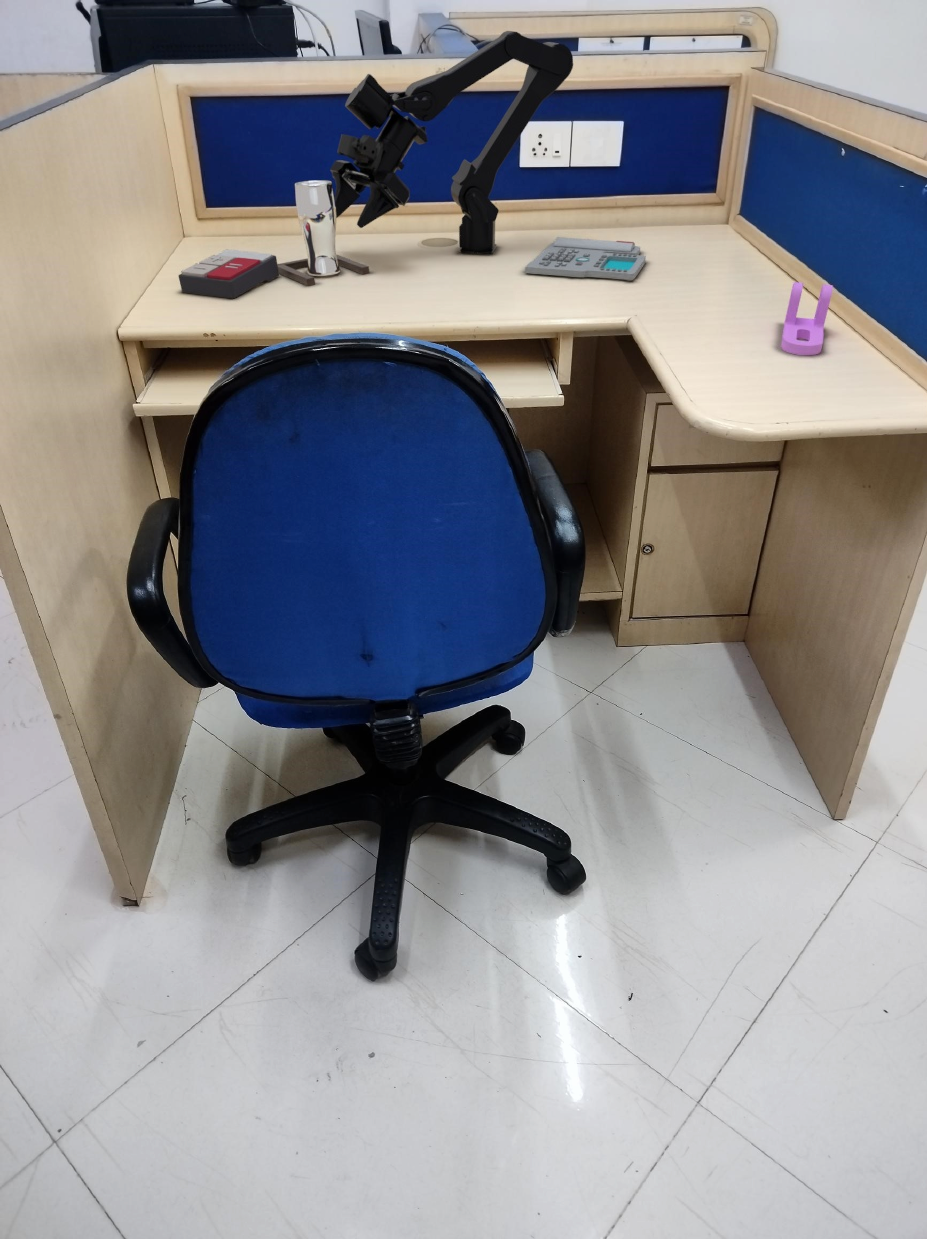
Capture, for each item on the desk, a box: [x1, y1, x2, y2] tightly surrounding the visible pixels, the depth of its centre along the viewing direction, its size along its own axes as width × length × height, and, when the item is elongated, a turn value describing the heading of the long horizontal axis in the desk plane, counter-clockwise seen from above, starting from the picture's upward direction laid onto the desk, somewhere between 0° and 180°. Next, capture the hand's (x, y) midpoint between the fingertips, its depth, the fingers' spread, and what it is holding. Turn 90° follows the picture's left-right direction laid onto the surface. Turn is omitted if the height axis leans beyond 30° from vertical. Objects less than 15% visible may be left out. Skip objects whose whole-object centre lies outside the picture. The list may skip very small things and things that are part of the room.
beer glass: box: [294, 179, 341, 277], centre depth 153 cm, size 7×7×15 cm
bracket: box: [780, 281, 834, 356], centre depth 125 cm, size 13×6×7 cm, turn 161°
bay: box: [277, 253, 370, 287], centre depth 158 cm, size 12×13×1 cm
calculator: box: [178, 248, 280, 299], centre depth 151 cm, size 11×4×15 cm
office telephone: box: [524, 236, 647, 281], centre depth 162 cm, size 23×3×20 cm
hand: (345, 221), depth 156 cm, fingers open, 9 cm apart
